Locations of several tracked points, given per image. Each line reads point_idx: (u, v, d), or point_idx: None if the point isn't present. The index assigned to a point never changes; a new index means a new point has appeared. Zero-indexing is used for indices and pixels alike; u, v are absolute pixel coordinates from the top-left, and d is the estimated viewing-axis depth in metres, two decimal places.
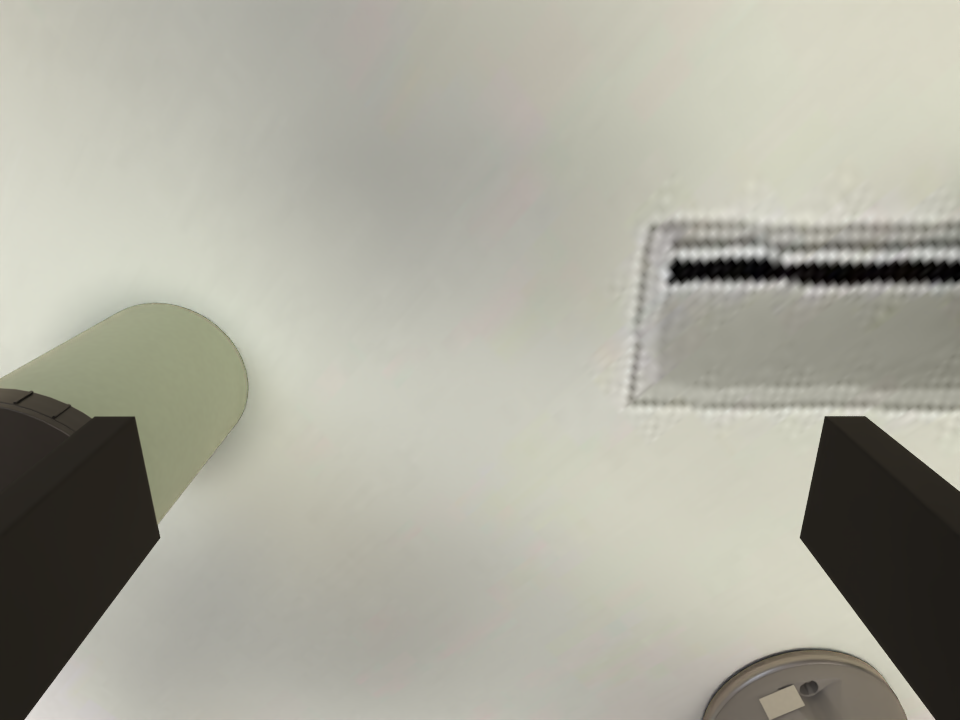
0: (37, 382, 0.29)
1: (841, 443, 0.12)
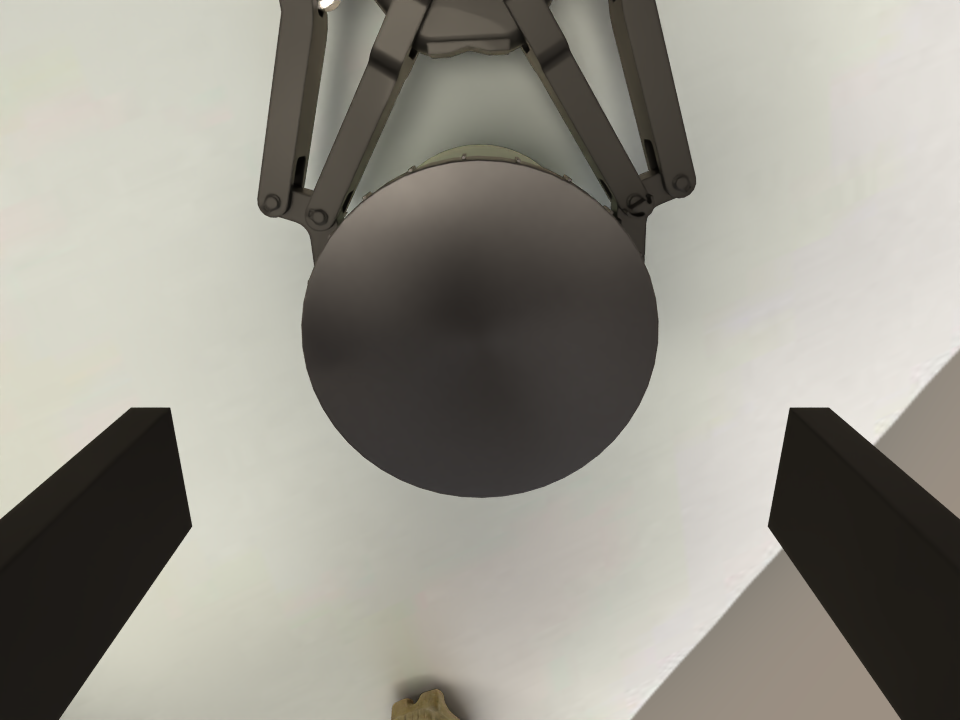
0: None
1: (804, 433, 0.12)
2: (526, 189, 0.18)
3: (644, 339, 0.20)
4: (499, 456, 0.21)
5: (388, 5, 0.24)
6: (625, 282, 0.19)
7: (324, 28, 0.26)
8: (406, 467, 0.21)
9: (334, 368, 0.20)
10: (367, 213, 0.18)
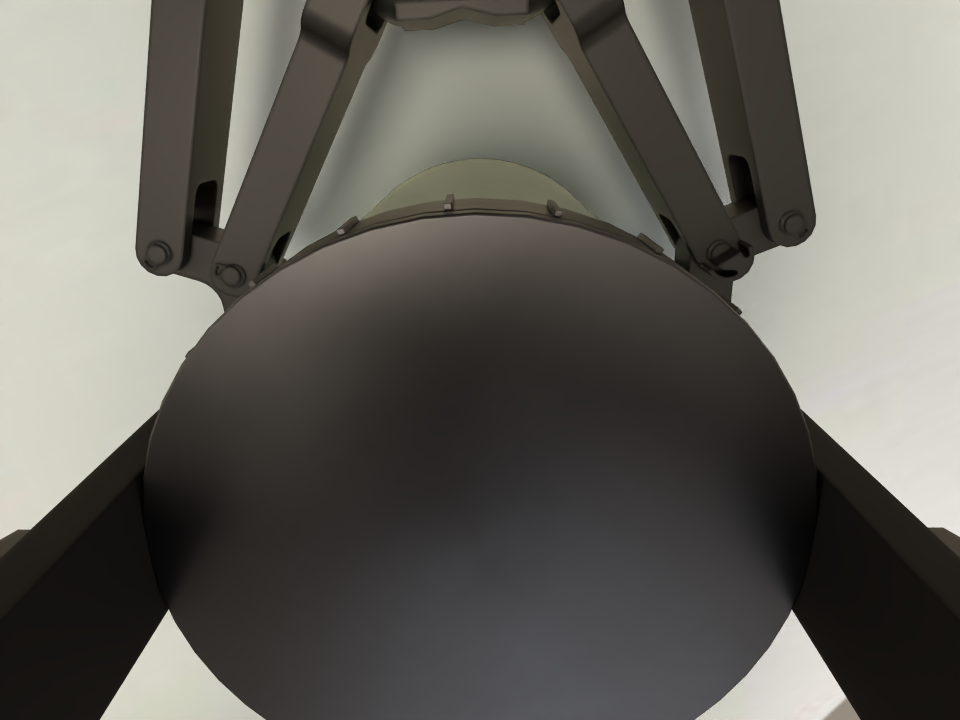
0: None
1: None
2: (574, 272, 0.09)
3: (789, 541, 0.11)
4: None
5: None
6: (761, 444, 0.10)
7: None
8: None
9: (210, 588, 0.11)
10: (254, 318, 0.09)
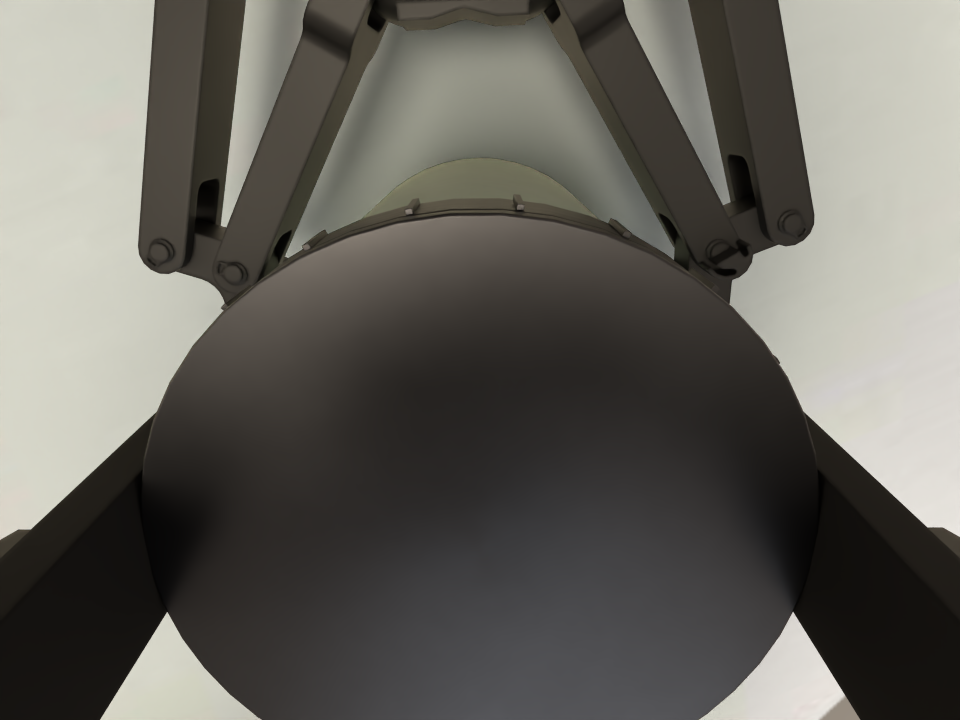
0: None
1: None
2: (211, 398, 0.10)
3: (586, 260, 0.09)
4: (712, 585, 0.11)
5: None
6: (445, 268, 0.09)
7: None
8: None
9: None
10: (200, 636, 0.11)
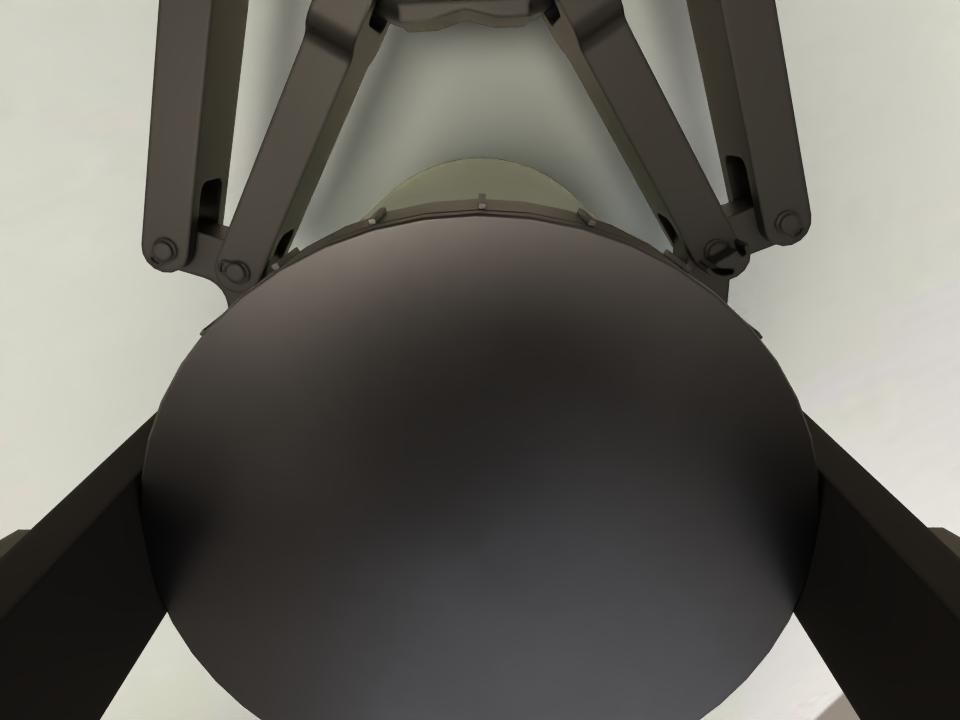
0: None
1: None
2: (262, 687, 0.12)
3: (202, 387, 0.10)
4: (609, 356, 0.09)
5: None
6: (186, 496, 0.10)
7: None
8: (777, 451, 0.10)
9: (711, 656, 0.11)
10: None
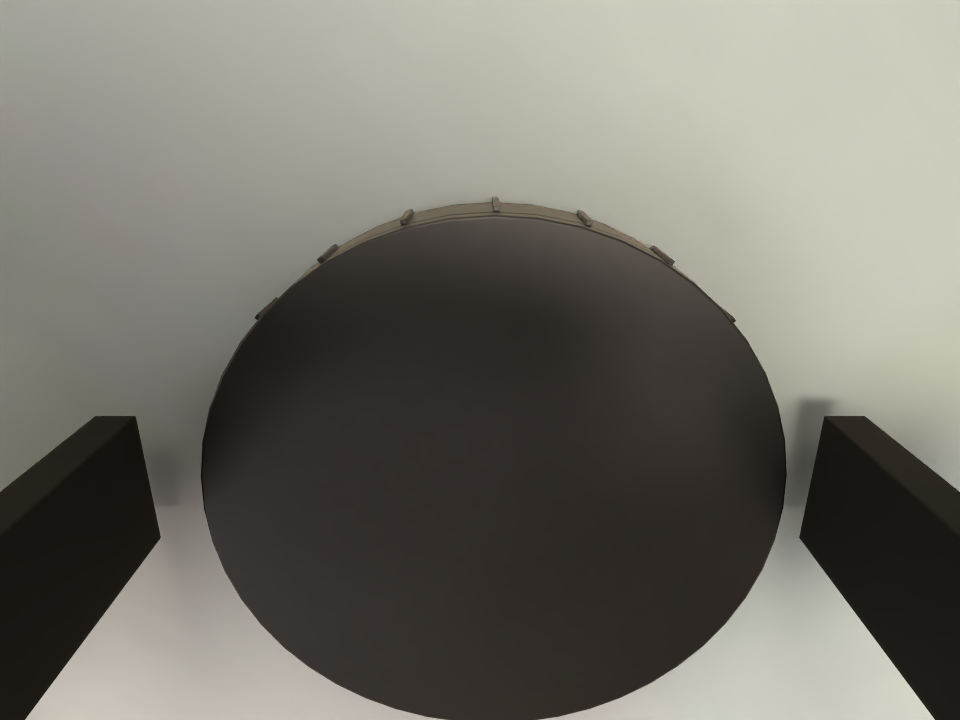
0: None
1: (840, 443, 0.12)
2: (301, 629, 0.13)
3: (257, 363, 0.11)
4: (604, 336, 0.11)
5: None
6: (240, 458, 0.12)
7: None
8: (748, 419, 0.12)
9: (694, 602, 0.13)
10: (495, 712, 0.14)
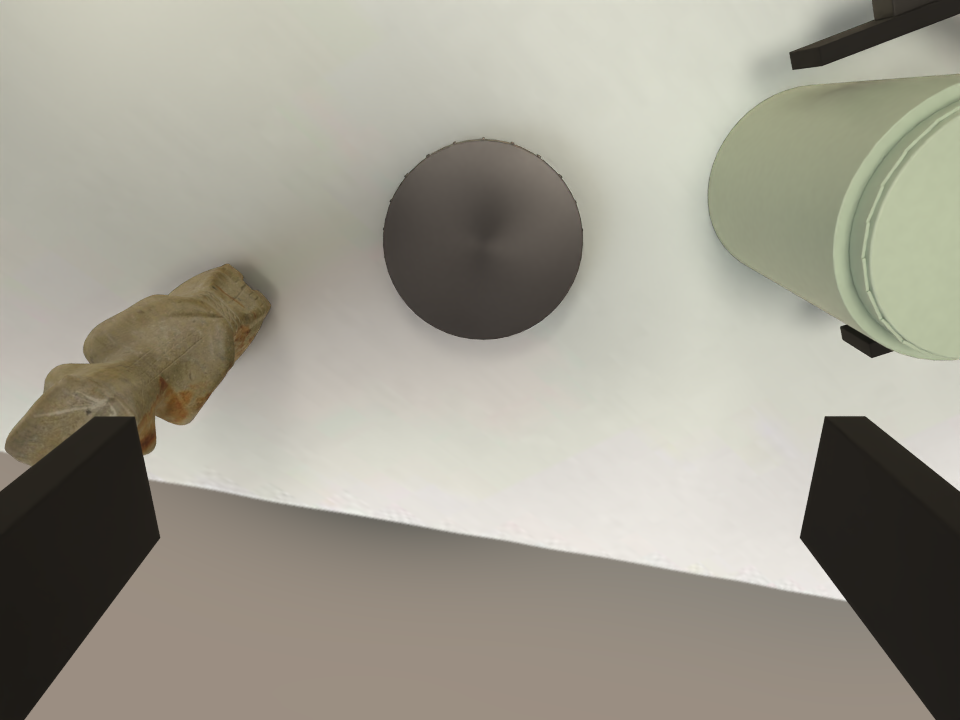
0: (833, 177, 0.24)
1: (841, 443, 0.12)
2: (413, 296, 0.37)
3: (406, 190, 0.34)
4: (518, 180, 0.34)
5: None
6: (397, 225, 0.35)
7: None
8: (567, 210, 0.35)
9: (555, 284, 0.36)
10: (484, 334, 0.37)
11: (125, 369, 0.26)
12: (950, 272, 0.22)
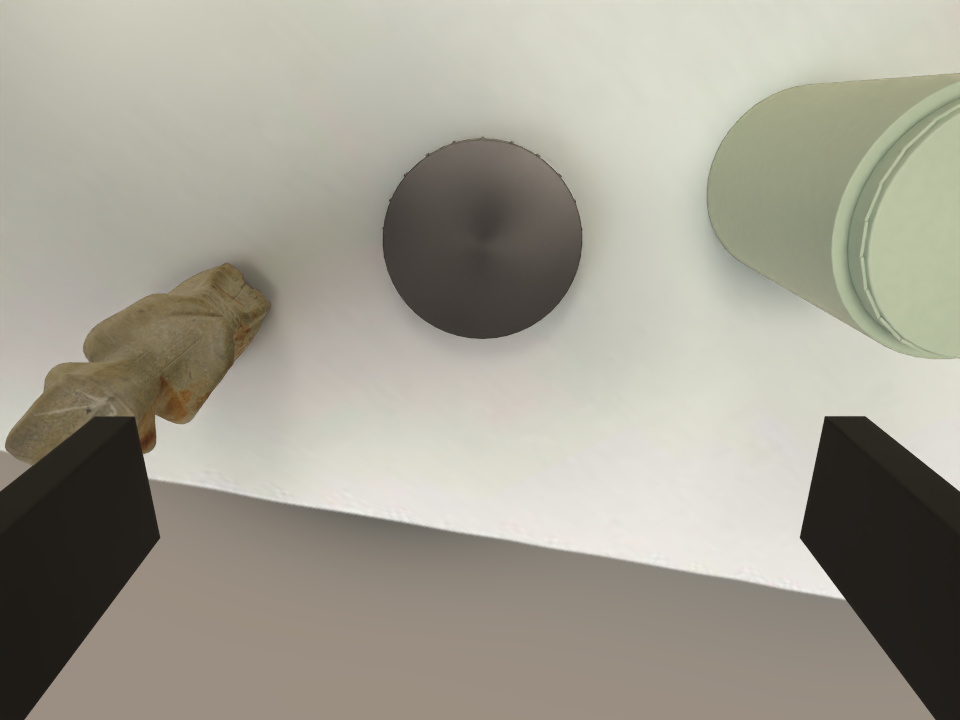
0: (832, 176, 0.24)
1: (841, 443, 0.12)
2: (413, 295, 0.37)
3: (405, 189, 0.35)
4: (517, 179, 0.34)
5: None
6: (397, 224, 0.35)
7: None
8: (566, 209, 0.35)
9: (554, 283, 0.36)
10: (483, 333, 0.37)
11: (125, 368, 0.26)
12: (948, 271, 0.22)
